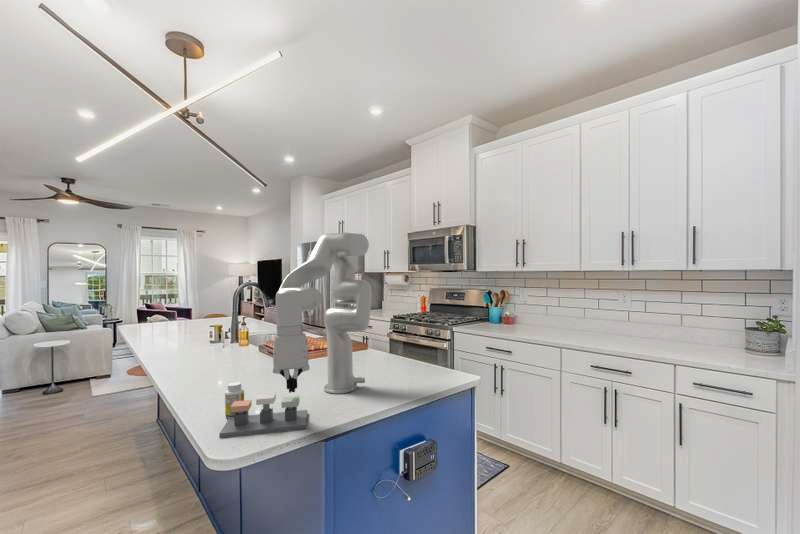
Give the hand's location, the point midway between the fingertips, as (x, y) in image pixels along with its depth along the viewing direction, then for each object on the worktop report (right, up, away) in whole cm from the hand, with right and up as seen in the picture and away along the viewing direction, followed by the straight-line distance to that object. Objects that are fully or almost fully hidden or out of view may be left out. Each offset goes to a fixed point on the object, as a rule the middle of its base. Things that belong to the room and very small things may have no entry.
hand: (292, 390), depth 113 cm
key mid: (-7, -5, -2) cm, 9 cm away
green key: (0, -7, -1) cm, 7 cm away
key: (-14, -7, -4) cm, 16 cm away
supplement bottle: (-20, -10, +5) cm, 23 cm away
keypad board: (-7, -9, -2) cm, 12 cm away
